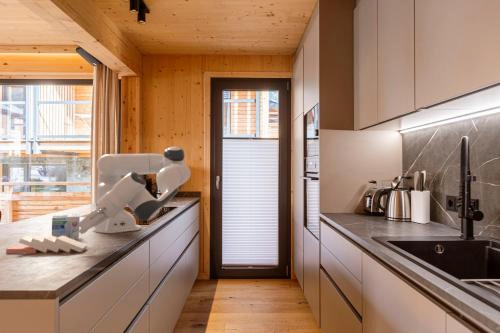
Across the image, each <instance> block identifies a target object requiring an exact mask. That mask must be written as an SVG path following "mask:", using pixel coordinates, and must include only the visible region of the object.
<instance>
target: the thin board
mask: <svg viewBox="0 0 500 333" xmlns="http://www.w3.org/2000/svg"><path fill="white" fill-rule="evenodd" d="M101 248H102V247H101V246H99V247H95V246H94V247H90V246H87V247H86V249H85V250H84V251H82V252H78V251H76V250H72V251H70V252H66V251H64V250H61V251H59V252H54V251H52V250H50V251H48V252H46V253H45V252H42V251H39V252H37V253H22V256H53V255H55V256H58V255H59V256H61V255H63V256H65V255H67V256H68V255H69V256H71V255H74V256H75V255H93V254H94V253H96V252H97V251H98V250H100V249H101Z"/></svg>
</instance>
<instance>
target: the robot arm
mask: <svg viewBox="0 0 500 333" xmlns="http://www.w3.org/2000/svg"><path fill="white" fill-rule="evenodd" d="M96 169H97V172H98V173H97V174H98V176H97V192H96V194H97V196H96V203H95V209H93V210H91V212H89V214H87V215H86V216H85V217H84V218H83V219H81V221H79V224H78V225H79V234H81V235H84V234H85V233H87V232H88V231H89V230H90V229H92V228H93V230H92V231H93V232H95V233H101V234H102V233H103V234H114V233H116V234H117V233H124V232H131V231H132V232H133V231H139V230H141V226H140V224H137V223H136V218H137V219H138V220H139V221H145V222H146V221H150V220H152V219H153V218H154V217H156V215H157V214H158V213H159V211H161V209H164V207H165V206H166V205H167V204H168V203H170V202H171V200H172V199H174V198H175V196H176V195H177V193H178V192H179V188H181V187H182V186H184V184H185V183H186V182H187V181H188V180H189V179H190V177H191V169H190V167H189V166H188V165H187V164H186V162H185V152H184V150H183V149H182V147H178V146H170V147H167V148H165V150H163V154H160V153H150V152H149V153H107V154H103V155H102V156H101V155H100V157H99V158H98V159H97V161H96ZM154 174H157V175H156V180H155V181H156V185H157V187H158V190H160V193H161V195H160V196H159V197H158V198H155V197H154V196H153V195H152V194H151V193H150V192H149V191H148V190H147V189H146V185H147V182H146V180H145V179H144V177H143V176H142V175H154ZM122 176H124V177H122ZM127 207H128V208H129V209H130V210H131V211H132V212H133V214H134V215H135V216H134V215H133V214H132V213H130V212H129V211H127V210H126V209H125V208H127ZM135 217H136V218H135Z"/></svg>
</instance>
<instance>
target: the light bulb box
mask: <svg viewBox="0 0 500 333" xmlns="http://www.w3.org/2000/svg"><path fill="white" fill-rule="evenodd" d="M79 223H80V214H79V213H78V214H61V215H60V214H59V215H58V214H57V215H52V218H51V235H52V236H54V237H57V238H58V237H60V236H62V235H63V236H66V237H68V238H71V239H73V240H79V239H80V232H79V230H80V226H79V225H78V224H79Z"/></svg>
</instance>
